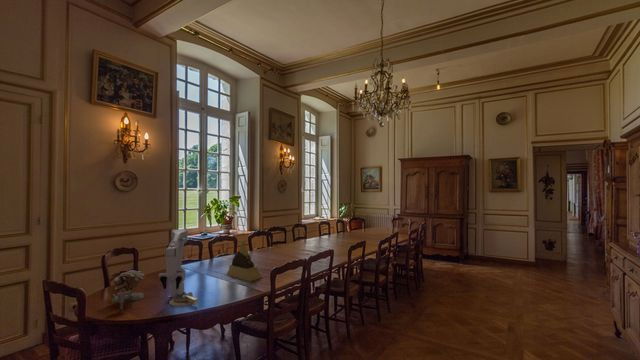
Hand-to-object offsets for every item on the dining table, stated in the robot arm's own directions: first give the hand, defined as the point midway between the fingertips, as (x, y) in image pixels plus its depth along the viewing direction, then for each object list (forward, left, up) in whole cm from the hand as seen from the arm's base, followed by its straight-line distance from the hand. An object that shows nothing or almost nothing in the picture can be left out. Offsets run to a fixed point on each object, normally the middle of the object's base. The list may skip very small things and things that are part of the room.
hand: (171, 288), depth 201 cm
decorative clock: (-60, +32, -10) cm, 69 cm away
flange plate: (-4, +6, -9) cm, 12 cm away
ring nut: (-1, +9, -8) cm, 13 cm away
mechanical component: (+9, -25, -10) cm, 28 cm away
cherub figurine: (-12, -32, -10) cm, 36 cm away
